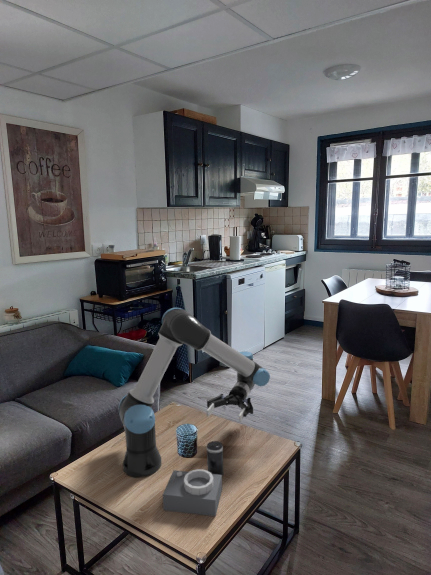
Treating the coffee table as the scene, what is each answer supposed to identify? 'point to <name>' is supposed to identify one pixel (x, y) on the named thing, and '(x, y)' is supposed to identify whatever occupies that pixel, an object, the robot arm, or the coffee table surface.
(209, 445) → the lens
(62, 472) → the coffee table surface
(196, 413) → the coffee table surface
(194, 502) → the camera body
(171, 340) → the robot arm
